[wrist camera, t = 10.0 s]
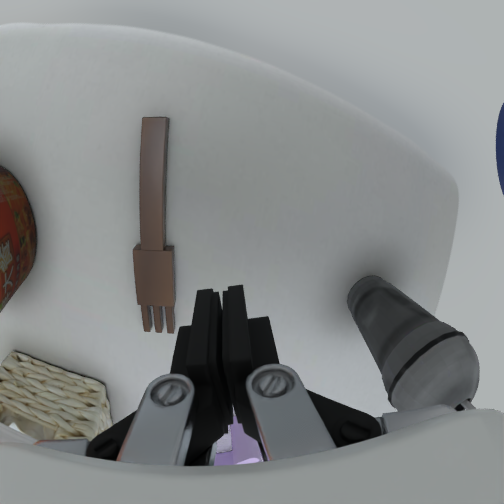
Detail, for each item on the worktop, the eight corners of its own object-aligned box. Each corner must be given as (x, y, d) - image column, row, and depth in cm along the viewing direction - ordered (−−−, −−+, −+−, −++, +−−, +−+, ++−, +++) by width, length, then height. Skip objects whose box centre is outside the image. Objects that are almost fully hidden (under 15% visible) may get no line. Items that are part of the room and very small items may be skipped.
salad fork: (178, 118, 19) (176, 116, 18) (177, 327, 26) (175, 335, 24) (137, 118, 19) (133, 117, 18) (144, 325, 25) (141, 332, 24)
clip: (237, 474, 38) (240, 507, 32) (163, 467, 36) (161, 501, 29) (271, 412, 32) (280, 457, 25) (168, 401, 29) (163, 449, 23)
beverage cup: (324, 284, 26) (447, 482, 7) (390, 249, 25) (550, 390, 7) (344, 337, 28) (434, 502, 10) (402, 305, 28) (517, 439, 9)
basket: (5, 335, 24) (-51, 417, 10) (117, 376, 27) (87, 490, 14) (42, 434, 32) (21, 497, 18) (126, 462, 35) (117, 533, 21)
